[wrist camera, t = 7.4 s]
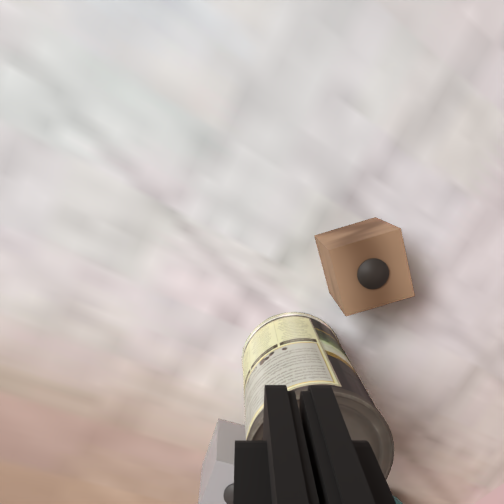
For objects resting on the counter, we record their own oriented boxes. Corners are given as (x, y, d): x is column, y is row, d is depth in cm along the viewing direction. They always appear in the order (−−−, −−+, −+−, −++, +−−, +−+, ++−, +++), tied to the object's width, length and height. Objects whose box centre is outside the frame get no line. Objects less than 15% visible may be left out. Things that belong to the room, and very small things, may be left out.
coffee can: (355, 326, 40) (418, 414, 27) (320, 412, 43) (362, 534, 29) (258, 298, 39) (272, 375, 26) (228, 388, 41) (225, 503, 28)
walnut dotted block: (374, 217, 38) (401, 228, 32) (387, 275, 39) (415, 296, 33) (314, 235, 38) (329, 250, 32) (329, 292, 40) (346, 317, 33)
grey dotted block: (272, 432, 43) (278, 477, 37) (254, 477, 44) (257, 527, 38) (218, 418, 42) (216, 462, 36) (202, 464, 44) (197, 514, 38)
